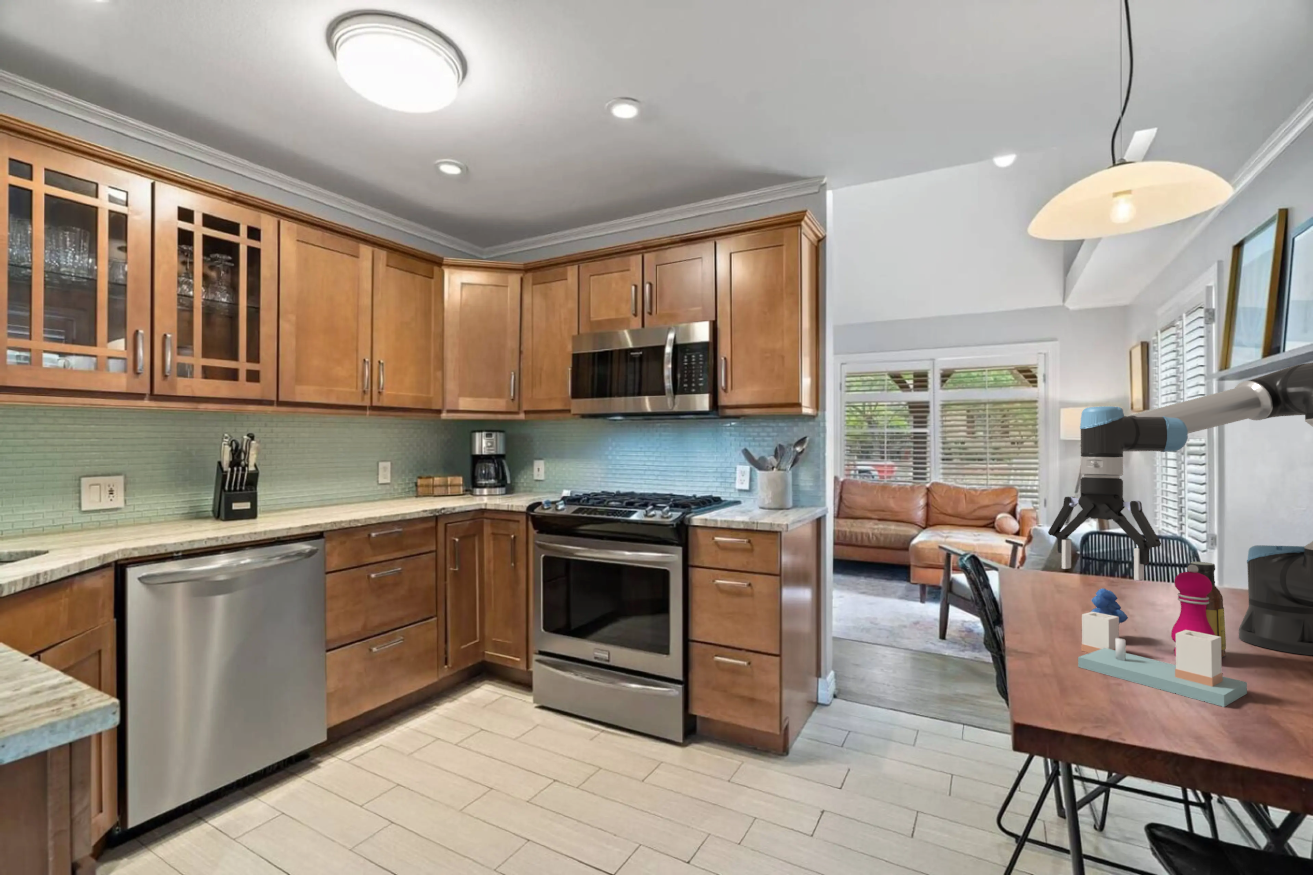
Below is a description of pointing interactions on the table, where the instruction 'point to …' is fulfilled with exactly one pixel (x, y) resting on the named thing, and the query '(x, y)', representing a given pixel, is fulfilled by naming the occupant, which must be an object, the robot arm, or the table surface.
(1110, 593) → the grapes
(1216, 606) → the sauce bottle
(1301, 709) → the table surface
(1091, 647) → the sleeve
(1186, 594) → the pepper mill
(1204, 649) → the seated sleeve
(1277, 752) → the table surface
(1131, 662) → the pin board
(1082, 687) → the table surface
